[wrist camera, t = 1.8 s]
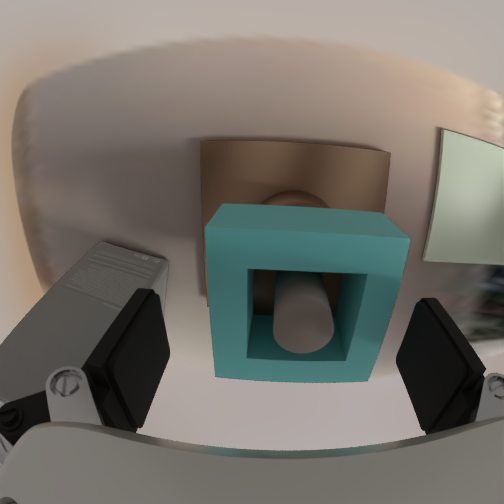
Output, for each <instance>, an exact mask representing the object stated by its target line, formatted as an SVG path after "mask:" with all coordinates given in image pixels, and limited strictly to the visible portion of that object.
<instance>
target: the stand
mask: <svg viewBox="0 0 504 504" xmlns="http://www.w3.org/2000/svg"><path fill="white" fill-rule="evenodd" d="M390 154H391V153H389V152H385V151H378V150H371V149H363V148H355V147H346V146H337V145H326V144H314V143H300V142H282V141H249V140H217V141H201V195H202V223H203V245H204V264H205V280H206V294H207V307H209V295H208V280H207V262H206V242H205V227H206V225H207V224H208V222H209V221H210V220H211V218H212V217H213V216H214V214H215V213H216V212H217V210H218V209H219V208H220V206H221V205H222V204H254V205H278V206H297V207H314V208H330V209H343V210H356V211H368V212H380V213H383V214H384V209H385V201H386V193H387V185H388V176H389V166H390ZM343 275H344V273H333V272H309V271H288V270H268V269H254V290H253V315H270V316H274V324H273V335H274V338H275V340H276V342H277V343H278V345H280V346H281V347H282V348H283V349H285V350H287V351H289V352H293V353H300V354H302V353H310V352H314V351H317V350H319V349H321V348H322V347H324V346H325V345H326V344H327V343H328V342H329V341H330V340H331V338H332V336H333V333H334V322H333V318H335V317H336V312H337V307H338V302H339V297H340V291H341V286H342V280H343Z"/></svg>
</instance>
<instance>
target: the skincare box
mask: <svg viewBox="0 0 504 504" xmlns="http://www.w3.org/2000/svg"><path fill="white" fill-rule="evenodd" d="M168 266H169V262H168V261H167V260H163V259H160V258H157V257H153V256H150V255H146V254H142V253H138V252H135V251H131V250H128V249H125V248H122V247H118V246H115V245H112V244H109V243H107V242H104V241H103V242H99V243H98V244H96V245H95V246H94V247H93V248H92V249H91V250H90V251H89V252H88V253H86V254H85V255H84V256H83V257H82V258H81V259H80V260H79V261H78V262H77V263H76V264H75V265H74V266H73V267H72V268H71V269H70V270H69V271H68V272H67V273H66V274H64V275H63V276H62V277H61V278H60V280H59V281H58V282H57V283H56V284H55V285H54V286H53V287H52V288H51V289H50V290H49V291H48V292H47V293H46V294H45V295H44V296H43V297H42V298H41V299H40V300H39V301H38V302H37V303H36V305H35V306H34V307H33V308H32V309H31V310H30V311H29V313H27V314H26V315H25V317H24V318H23V319H22V320H21V321H20V322H19V323H18V325H17V326H16V327H15V328H14V329H13V330H12V332H11V333H10V334H9V335H8V336H7V338H6V339H5V340H4V341H3V343H2V344H1V345H0V407H1V406H3V405H4V404H6V403H8V402H11V401H14V400H17V399H20V398H23V397H26V396H29V395H32V394H35V393H38V392H41V391H44V390H46V381H47V379H48V377H49V376H50V375H51V374H52V373H53V372H54V371H55V370H57V369H59V368H62V367H66V366H74V367H77V368H80V369H81V368H82V366H83V365H84V363H85V362H86V360H87V359H88V357H89V356H90V354H91V353H92V351H93V350H94V348H95V347H96V345H97V344H98V342H99V341H100V340H101V338H102V337H103V335H104V334H105V332H106V331H107V329H108V328H109V327H110V325H111V324H112V323H113V321H114V320H115V318H116V317H117V316H118V314H119V313H120V311H121V310H122V309H123V307H124V306H125V304H126V303H127V302H128V300H129V299H130V298H131V296H132V295H133V294H134V292H135V291H136V290H137V289H138V288H146V289H153V290H154V291H155V293H157V294H159V296H160V301H161V306H162V312H163V318H164V307H165V296H166V286H167V276H168Z"/></svg>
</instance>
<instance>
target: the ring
mask: <svg viewBox="0 0 504 504" xmlns="http://www.w3.org/2000/svg"><path fill="white" fill-rule="evenodd" d="M410 240H411V238H410V237H408V236H407V235H406V234H405V233H404V232H403V231H402V230H401V229H400V228H399V227H398V226H397V225H395V224H394V223H393V222H392V221H391V220H390V219H389V218H388V217H386V216H385V215H384V214H383V213H380V212H368V211H356V210H343V209H330V208H314V207H297V206H278V205H254V204H222V205H221V206H220V208H219V209H218V210H217V212H216V213H215V214H214V216H213V217H212V218H211V220H210V221H209V222H208V224H207V225H206V227H205V242H206V262H207V280H208V295H209V309H210V322H211V335H212V346H213V357H214V368H215V377H221V378H230V379H242V380H255V381H271V382H300V383H301V382H302V383H303V382H304V383H332V382H333V383H336V382H364V381H368V379H369V377H370V374H371V372H372V369H373V366H374V364H375V361H376V359H377V356H378V353H379V350H380V348H381V345H382V342H383V339H384V336H385V333H386V330H387V327H388V324H389V321H390V318H391V314H392V311H393V308H394V305H395V301H396V298H397V294H398V290H399V287H400V283H401V279H402V275H403V271H404V267H405V263H406V259H407V254H408V250H409V245H410ZM254 269H268V270H288V271H309V272H333V273H344V275H343V280H342V286H341V291H340V297H339V302H338V307H337V312H336V317H335V318H333V322H334V333H333V336H332V338H331V340H330V341H329V342H328V343H327V344H326V345H325V346H324V347H322V348H321V349H319V350H317V351H314V352H310V353H302V354H300V353H293V352H289V351H287V350H285V349H283V348H282V347H281V346H280V345H278V343H277V342H276V340H275V338H274V335H273V324H274V316H270V315H253V290H254Z"/></svg>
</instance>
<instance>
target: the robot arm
mask: <svg viewBox="0 0 504 504" xmlns="http://www.w3.org/2000/svg"><path fill="white" fill-rule="evenodd" d="M169 357H170V348H169V343H168V338H167V333H166V328H165V323H164V318H163V312H162V306H161V301H160V296H159V294H157V293H155V291H154V290H153V289H146V288H138V289H137V290H136V291H135V292H134V294H133V295H132V296H131V298H130V299H129V300H128V302H127V303H126V304H125V306H124V307H123V309H122V310H121V311H120V313H119V314H118V316H117V317H116V318H115V320H114V321H113V323H112V324H111V325H110V327H109V328H108V329H107V331H106V332H105V334H104V335H103V337H102V338H101V340H100V341H99V342H98V344H97V345H96V347H95V348H94V350H93V351H92V353H91V354H90V356H89V357H88V359H87V360H86V362H85V363H84V365H83V366H82V368H81V369H80V368H77V367H74V366H66V367H62V368H59V369H57V370H55V371H54V372H53V373H52V374H51V375H50V376H49V377H48V379H47V381H46V390H44V391H41V392H38V393H35V394H32V395H29V396H26V397H23V398H20V399H17V400H14V401H11V402H8V403H6V404H4V405H3V406H1V407H0V504H504V375H502V374H499V373H490V374H488V375H487V376H486V377H484V376H483V373H484V372H485V370H486V368H485V366H484V365H483V363H482V362H481V360H480V358H479V357H478V355H477V354H476V352H475V351H474V349H473V348H472V346H471V345H470V344H469V342H468V341H467V339H466V338H465V336H464V335H463V334H462V332H461V331H460V329H459V328H458V327H457V325H456V324H455V322H454V321H453V320H452V318H451V317H450V316H449V314H448V313H447V312H446V310H445V309H444V308H443V306H442V305H441V304H440V303H439V301H438V300H437V299H436V298H422V299H421V300H420V301H419V302H417V303H416V305H415V308H414V311H413V314H412V317H411V319H410V322H409V325H408V328H407V330H406V333H405V336H404V338H403V341H402V344H401V346H400V349H399V351H398V353H397V356H396V364H397V367H398V369H399V371H400V374H401V376H402V379H403V381H404V384H405V386H406V389H407V391H408V394H409V397H410V399H411V402H412V404H413V407H414V410H415V413H416V415H417V418H418V421H419V424H420V427H421V429H422V430H423V431H425V433H426V435H425V436H419V437H415V438H410V439H405V440H400V441H394V442H388V443H382V444H375V445H367V446H359V447H350V448H340V449H327V450H326V449H325V450H301V451H275V450H273V451H272V450H248V449H234V448H223V447H214V446H205V445H198V444H191V443H185V442H179V441H173V440H167V439H161V438H156V437H151V436H146V435H142V434H137V433H136V431H137V428H141V427H143V424H144V422H145V419H146V416H147V414H148V411H149V409H150V406H151V403H152V401H153V398H154V396H155V393H156V390H157V388H158V385H159V383H160V380H161V377H162V375H163V373H164V370H165V368H166V365H167V363H168V360H169Z"/></svg>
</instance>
